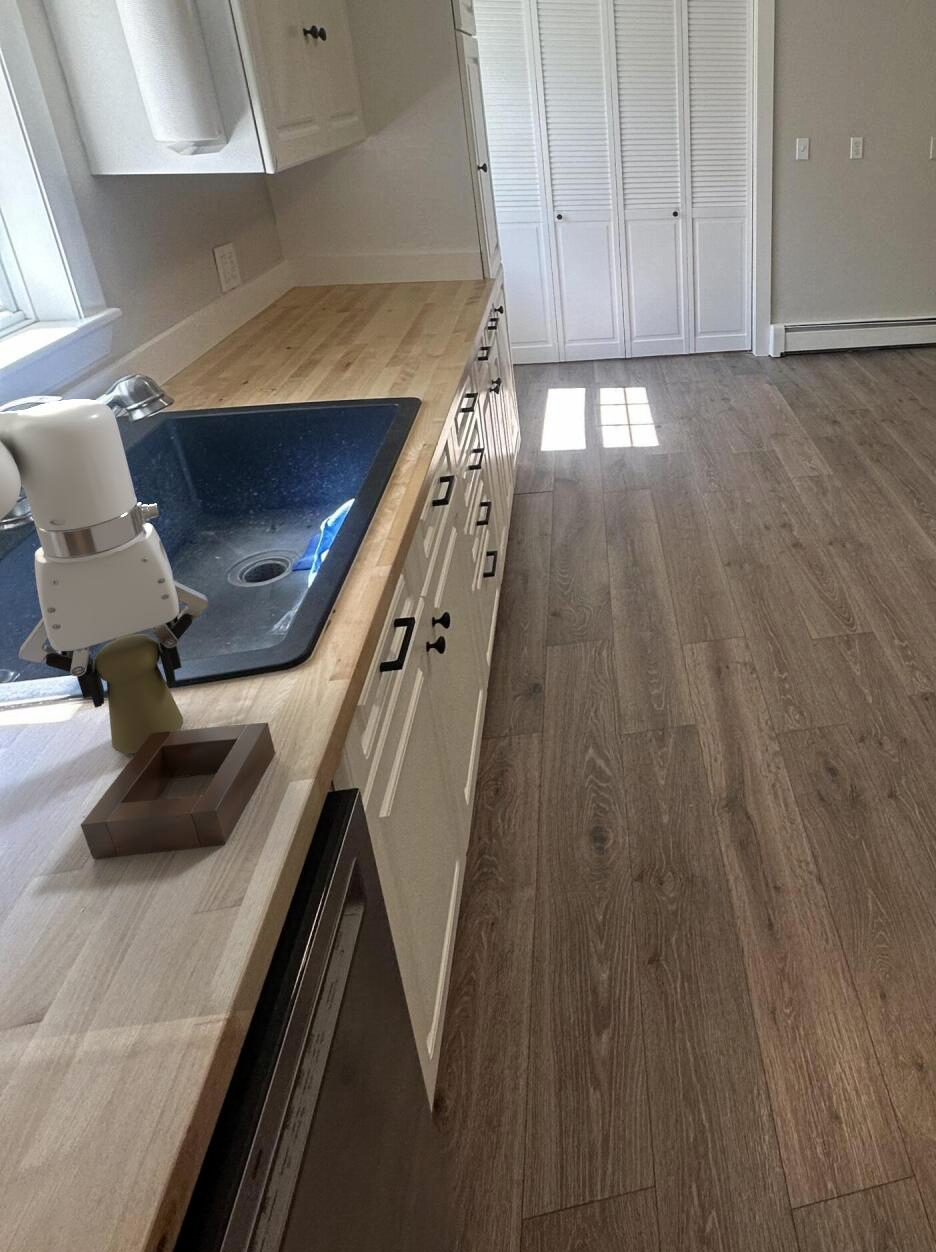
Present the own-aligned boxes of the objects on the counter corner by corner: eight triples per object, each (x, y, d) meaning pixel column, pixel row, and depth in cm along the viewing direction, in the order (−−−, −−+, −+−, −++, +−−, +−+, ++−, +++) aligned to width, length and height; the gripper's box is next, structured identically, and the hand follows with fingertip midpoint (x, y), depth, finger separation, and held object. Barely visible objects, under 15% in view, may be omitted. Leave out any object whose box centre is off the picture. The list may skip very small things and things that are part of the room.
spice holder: (92, 859, 69) (80, 825, 68) (161, 764, 79) (151, 732, 78) (225, 844, 71) (215, 810, 69) (275, 753, 81) (268, 721, 79)
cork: (148, 757, 79) (123, 666, 76) (96, 749, 80) (68, 658, 76) (197, 715, 85) (175, 628, 81) (148, 708, 86) (124, 622, 82)
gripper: (196, 492, 83) (229, 638, 88) (-27, 539, 72) (27, 701, 78) (203, 519, 77) (238, 673, 83) (-37, 575, 67) (22, 746, 73)
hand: (135, 685), depth 81 cm, fingers closed on cork, 5 cm apart
